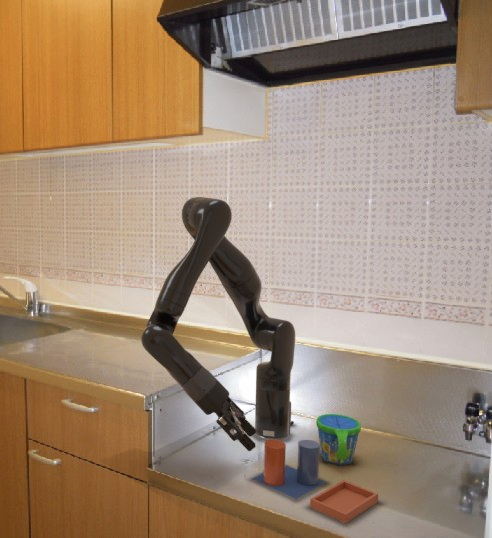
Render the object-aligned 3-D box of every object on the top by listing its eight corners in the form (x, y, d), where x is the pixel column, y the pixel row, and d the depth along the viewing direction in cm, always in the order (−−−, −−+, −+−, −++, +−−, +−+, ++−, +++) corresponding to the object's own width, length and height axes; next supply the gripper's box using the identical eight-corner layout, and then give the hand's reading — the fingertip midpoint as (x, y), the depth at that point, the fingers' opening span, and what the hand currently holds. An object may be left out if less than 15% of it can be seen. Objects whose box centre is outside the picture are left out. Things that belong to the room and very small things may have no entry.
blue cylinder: (304, 474, 136) (305, 438, 135) (322, 481, 132) (323, 444, 131) (292, 480, 133) (293, 443, 132) (310, 488, 129) (312, 450, 128)
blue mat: (282, 465, 141) (282, 464, 141) (326, 483, 132) (326, 481, 132) (251, 479, 134) (252, 478, 134) (295, 500, 125) (295, 498, 125)
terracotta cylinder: (271, 474, 136) (272, 437, 135) (288, 481, 132) (290, 444, 131) (259, 480, 133) (260, 443, 132) (276, 488, 129) (277, 450, 128)
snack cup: (361, 476, 135) (363, 435, 134) (314, 470, 139) (316, 430, 138) (357, 450, 150) (358, 412, 149) (315, 445, 153) (316, 408, 152)
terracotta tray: (342, 488, 130) (343, 479, 130) (377, 502, 124) (378, 493, 123) (309, 508, 121) (310, 498, 121) (345, 524, 115) (346, 514, 115)
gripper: (213, 388, 126) (265, 443, 125) (218, 370, 140) (265, 419, 139) (189, 410, 128) (240, 464, 127) (196, 390, 142) (242, 439, 140)
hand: (253, 441), depth 133 cm, fingers open, 8 cm apart
